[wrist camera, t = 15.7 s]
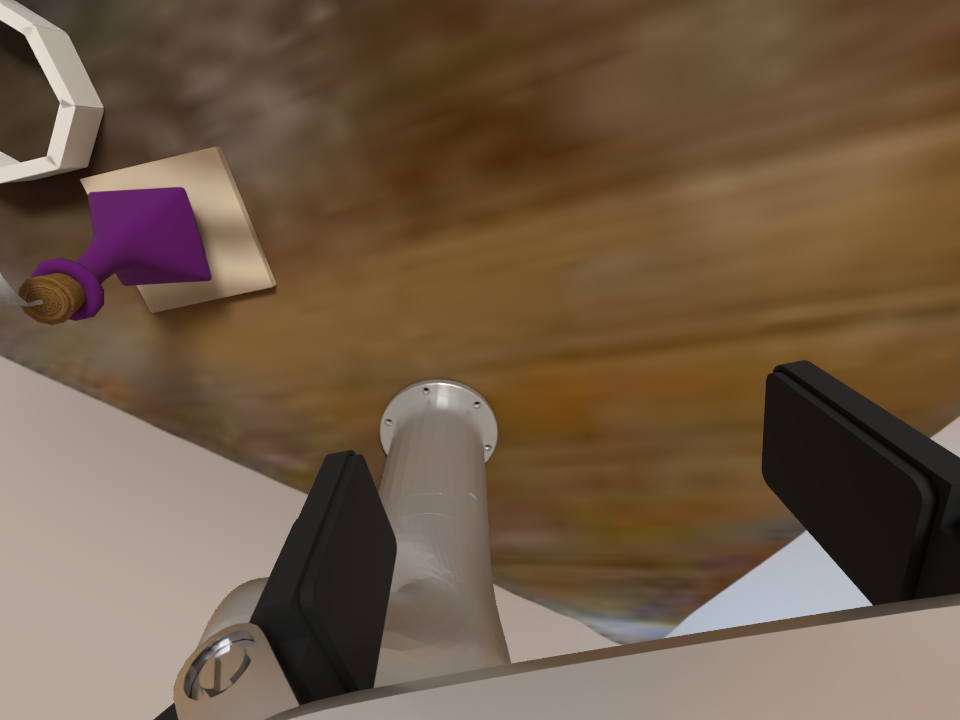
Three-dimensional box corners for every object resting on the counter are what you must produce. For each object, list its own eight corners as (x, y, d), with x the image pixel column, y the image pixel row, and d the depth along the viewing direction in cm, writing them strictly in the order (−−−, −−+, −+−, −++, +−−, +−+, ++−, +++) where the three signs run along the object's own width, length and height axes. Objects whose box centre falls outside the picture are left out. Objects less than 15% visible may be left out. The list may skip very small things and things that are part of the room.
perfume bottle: (229, 271, 42) (80, 351, 26) (147, 276, 42) (-55, 359, 26) (204, 183, 39) (17, 211, 23) (115, 188, 39) (-136, 220, 23)
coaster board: (276, 284, 44) (273, 286, 43) (156, 310, 44) (151, 313, 44) (220, 146, 39) (215, 146, 38) (86, 178, 39) (79, 179, 39)
